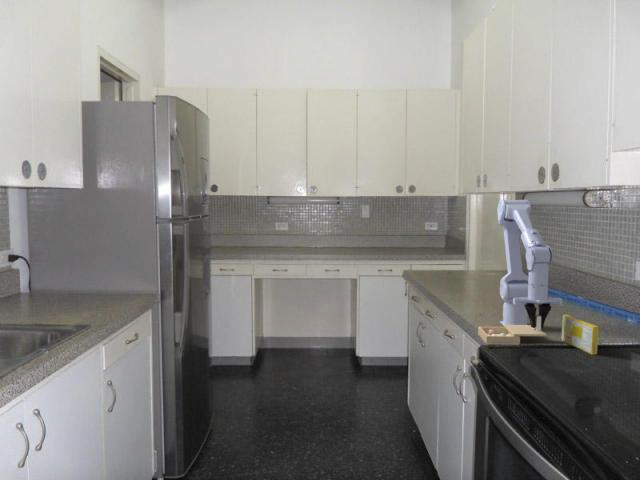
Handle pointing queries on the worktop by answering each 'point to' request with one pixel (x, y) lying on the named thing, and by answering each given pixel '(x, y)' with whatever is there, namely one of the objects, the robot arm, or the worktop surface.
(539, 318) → the lid
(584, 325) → the candy box
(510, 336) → the beige shallow box
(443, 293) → the worktop surface
